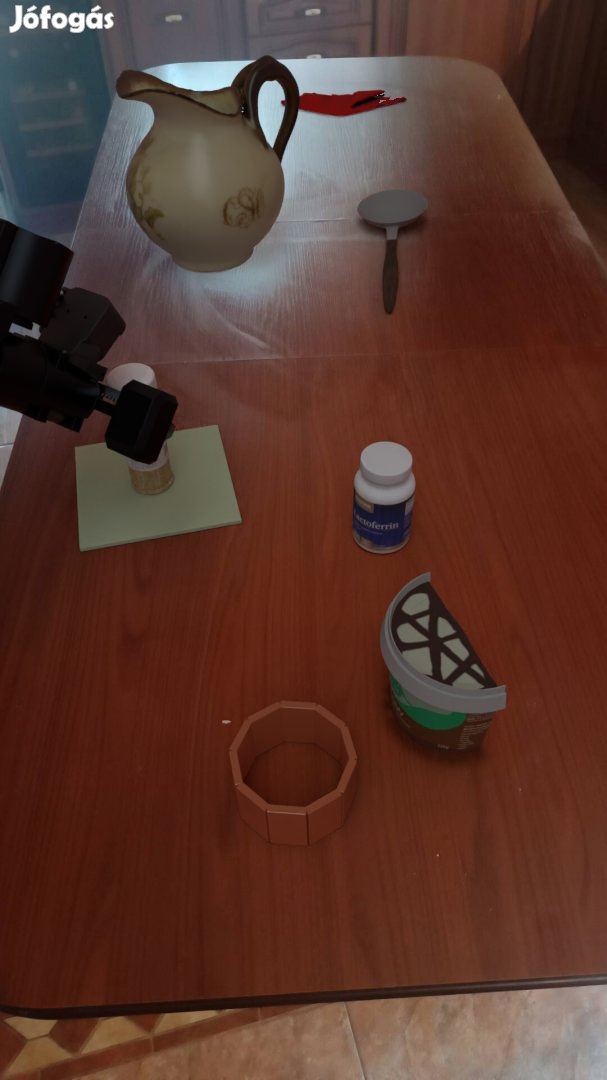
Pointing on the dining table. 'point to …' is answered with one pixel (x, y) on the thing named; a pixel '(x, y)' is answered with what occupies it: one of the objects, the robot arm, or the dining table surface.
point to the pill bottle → (383, 498)
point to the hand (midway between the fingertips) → (135, 415)
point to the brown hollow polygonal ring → (302, 727)
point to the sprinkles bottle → (159, 472)
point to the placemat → (132, 516)
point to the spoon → (392, 228)
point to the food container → (436, 673)
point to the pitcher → (208, 166)
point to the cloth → (344, 102)
